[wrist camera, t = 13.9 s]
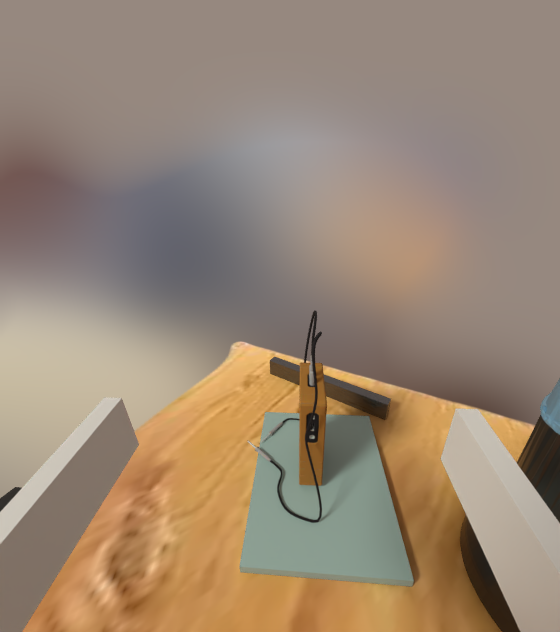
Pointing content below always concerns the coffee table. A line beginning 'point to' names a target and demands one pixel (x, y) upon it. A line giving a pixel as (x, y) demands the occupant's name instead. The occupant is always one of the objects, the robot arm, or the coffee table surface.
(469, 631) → the coffee table surface
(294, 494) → the plate
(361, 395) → the guide rail
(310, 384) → the corded orange upright block
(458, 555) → the coffee table surface
